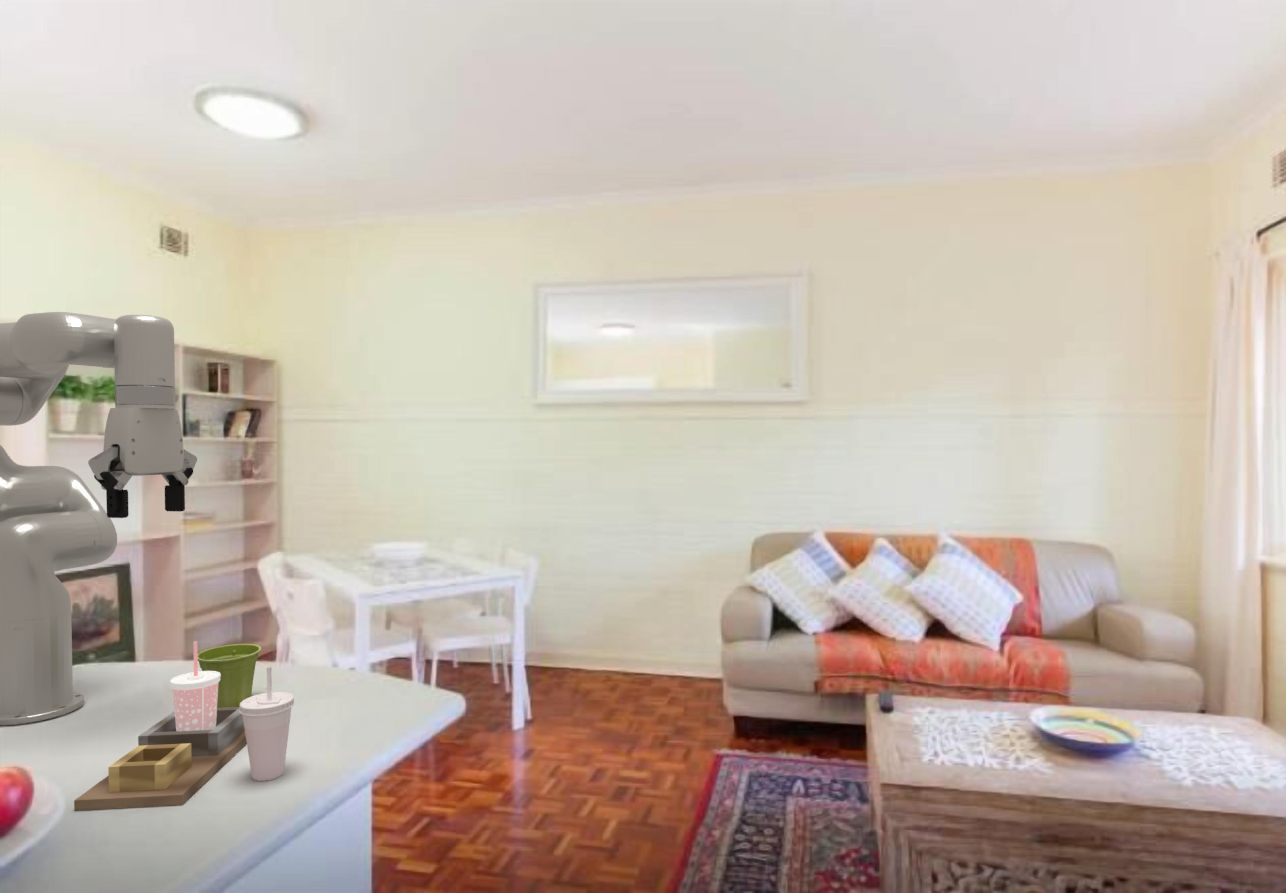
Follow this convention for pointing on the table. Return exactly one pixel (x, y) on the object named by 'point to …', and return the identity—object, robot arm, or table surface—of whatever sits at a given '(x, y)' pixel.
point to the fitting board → (167, 764)
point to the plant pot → (231, 671)
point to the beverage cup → (195, 698)
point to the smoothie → (267, 730)
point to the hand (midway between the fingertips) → (147, 514)
